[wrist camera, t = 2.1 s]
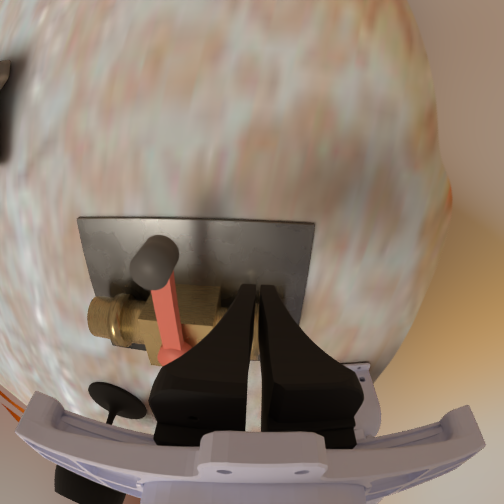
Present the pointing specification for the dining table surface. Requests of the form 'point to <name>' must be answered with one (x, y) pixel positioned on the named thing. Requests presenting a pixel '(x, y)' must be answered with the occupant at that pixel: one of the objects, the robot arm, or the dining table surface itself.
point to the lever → (161, 292)
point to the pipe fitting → (4, 72)
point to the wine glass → (117, 403)
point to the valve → (190, 273)
